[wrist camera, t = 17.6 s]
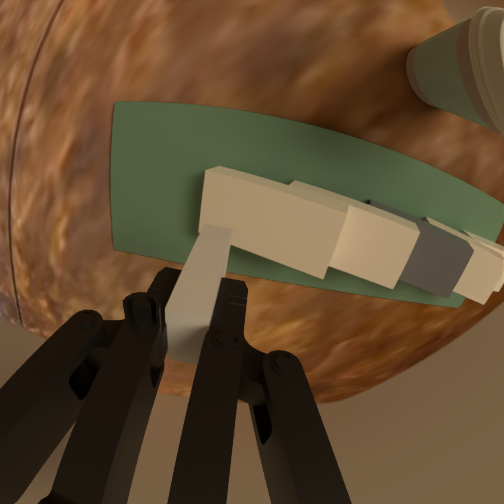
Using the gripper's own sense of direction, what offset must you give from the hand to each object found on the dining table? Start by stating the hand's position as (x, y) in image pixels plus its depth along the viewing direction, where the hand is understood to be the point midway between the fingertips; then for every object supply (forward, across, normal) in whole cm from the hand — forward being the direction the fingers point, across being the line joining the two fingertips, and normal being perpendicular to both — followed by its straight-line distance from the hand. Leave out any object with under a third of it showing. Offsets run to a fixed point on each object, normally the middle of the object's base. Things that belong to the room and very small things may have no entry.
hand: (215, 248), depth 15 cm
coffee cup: (+9, +14, +15) cm, 22 cm away
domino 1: (+7, -2, 0) cm, 7 cm away
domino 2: (+7, +4, 0) cm, 8 cm away
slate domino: (+7, +11, 0) cm, 13 cm away
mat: (+8, +9, 0) cm, 12 cm away
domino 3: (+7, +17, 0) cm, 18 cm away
